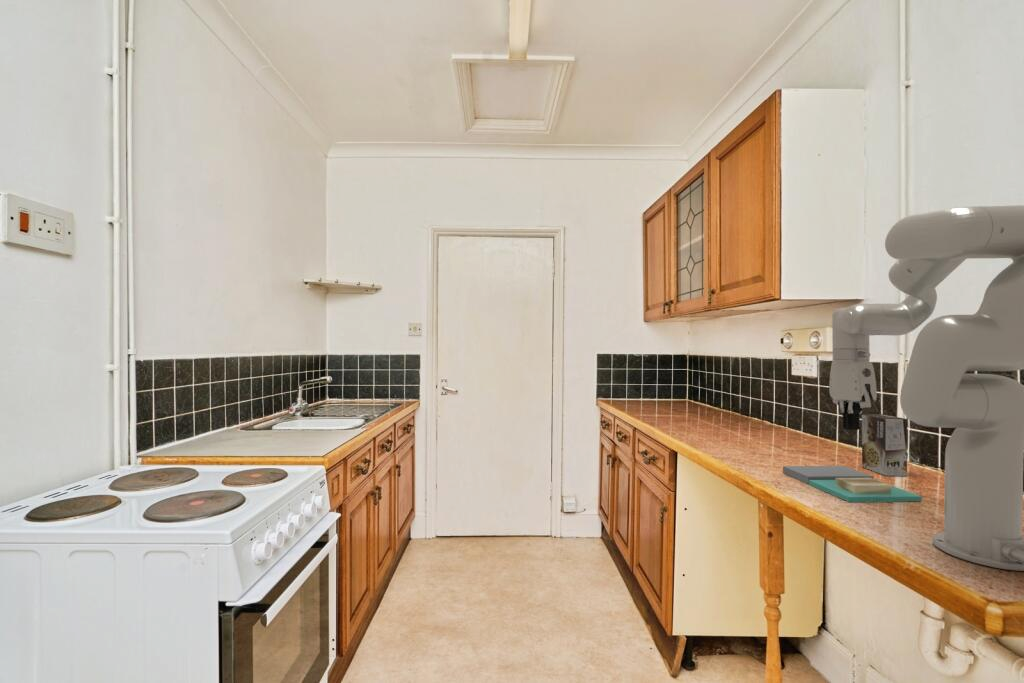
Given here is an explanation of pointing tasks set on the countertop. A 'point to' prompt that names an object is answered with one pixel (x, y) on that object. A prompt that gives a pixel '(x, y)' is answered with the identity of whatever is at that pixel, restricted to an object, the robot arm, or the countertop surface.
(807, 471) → the board
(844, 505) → the countertop surface
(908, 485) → the countertop surface
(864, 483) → the tile
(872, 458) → the coffee box
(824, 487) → the mat
